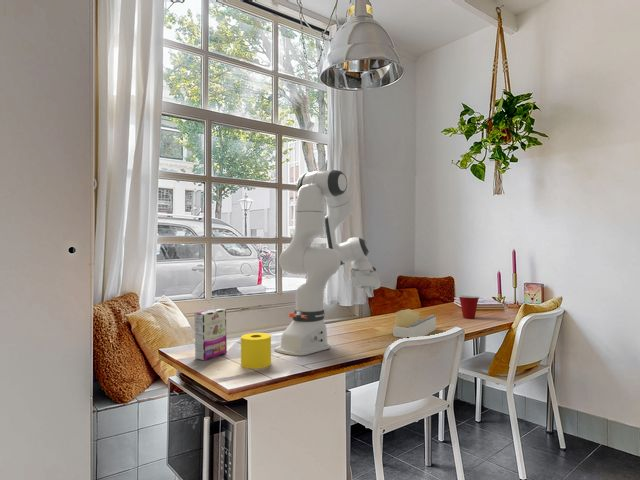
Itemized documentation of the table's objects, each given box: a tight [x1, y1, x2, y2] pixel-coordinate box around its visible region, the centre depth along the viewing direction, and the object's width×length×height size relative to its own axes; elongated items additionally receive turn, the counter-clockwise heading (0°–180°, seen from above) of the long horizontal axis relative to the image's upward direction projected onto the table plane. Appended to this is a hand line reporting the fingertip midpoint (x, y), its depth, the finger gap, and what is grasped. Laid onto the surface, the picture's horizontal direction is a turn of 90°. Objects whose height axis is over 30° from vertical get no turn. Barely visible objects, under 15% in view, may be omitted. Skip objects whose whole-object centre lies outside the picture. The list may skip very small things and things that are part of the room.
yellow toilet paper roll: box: [240, 332, 272, 370], centre depth 141 cm, size 10×10×9 cm
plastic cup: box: [458, 294, 480, 320], centre depth 222 cm, size 11×11×12 cm
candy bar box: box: [194, 308, 228, 361], centre depth 150 cm, size 11×5×16 cm, turn 148°
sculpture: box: [394, 308, 422, 328], centre depth 186 cm, size 12×12×11 cm
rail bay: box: [392, 314, 437, 339], centre depth 185 cm, size 28×11×7 cm, turn 146°
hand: (371, 296), depth 196 cm, fingers closed
